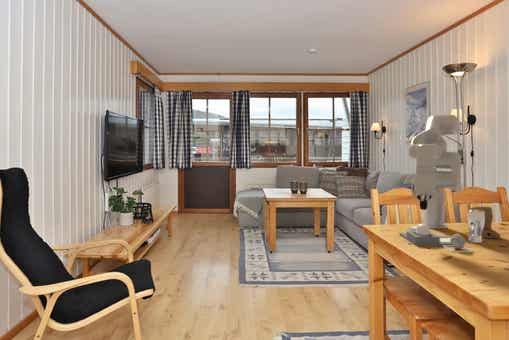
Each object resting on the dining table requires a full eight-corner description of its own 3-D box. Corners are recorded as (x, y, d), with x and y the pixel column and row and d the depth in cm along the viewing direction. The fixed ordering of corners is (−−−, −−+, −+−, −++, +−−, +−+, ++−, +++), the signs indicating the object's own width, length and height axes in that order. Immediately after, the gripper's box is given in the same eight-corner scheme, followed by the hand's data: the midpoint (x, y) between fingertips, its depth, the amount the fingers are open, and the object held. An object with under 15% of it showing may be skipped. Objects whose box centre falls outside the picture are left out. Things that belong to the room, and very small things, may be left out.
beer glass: (481, 240, 184) (482, 209, 183) (485, 244, 177) (487, 212, 176) (465, 239, 186) (466, 209, 184) (469, 242, 179) (470, 211, 178)
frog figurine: (447, 249, 168) (448, 233, 168) (453, 246, 173) (453, 231, 173) (462, 252, 164) (463, 236, 164) (467, 248, 169) (468, 233, 168)
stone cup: (468, 231, 202) (469, 203, 201) (494, 233, 198) (495, 205, 197) (473, 238, 188) (474, 208, 187) (501, 240, 184) (502, 209, 183)
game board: (399, 234, 195) (399, 224, 195) (440, 234, 194) (441, 225, 194) (424, 251, 164) (425, 240, 164) (474, 252, 164) (474, 240, 163)
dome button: (413, 234, 183) (414, 222, 182) (426, 234, 183) (426, 222, 182) (418, 237, 177) (419, 225, 176) (431, 237, 177) (432, 225, 176)
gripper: (437, 170, 181) (435, 208, 182) (405, 170, 181) (404, 207, 182) (444, 171, 173) (443, 210, 175) (411, 171, 174) (410, 210, 175)
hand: (423, 209), depth 178 cm, fingers closed
